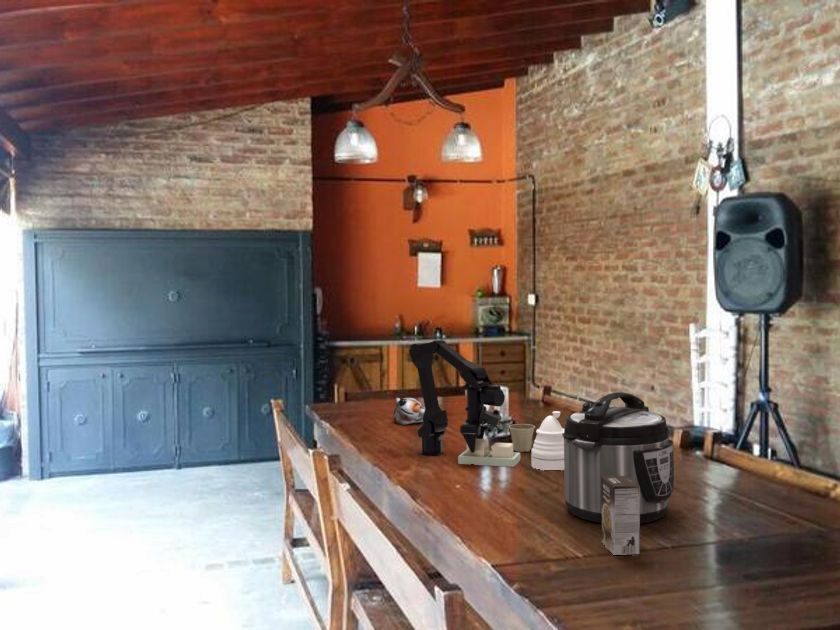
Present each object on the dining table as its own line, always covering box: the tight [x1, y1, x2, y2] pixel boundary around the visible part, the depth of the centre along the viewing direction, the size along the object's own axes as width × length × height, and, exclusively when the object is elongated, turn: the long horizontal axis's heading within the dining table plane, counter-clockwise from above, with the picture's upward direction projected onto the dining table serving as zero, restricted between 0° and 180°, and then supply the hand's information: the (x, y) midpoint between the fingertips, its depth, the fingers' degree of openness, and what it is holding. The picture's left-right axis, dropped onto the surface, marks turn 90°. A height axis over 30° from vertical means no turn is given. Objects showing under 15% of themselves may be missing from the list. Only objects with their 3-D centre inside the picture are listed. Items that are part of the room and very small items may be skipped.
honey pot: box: [530, 410, 564, 471], centre depth 272 cm, size 13×13×18 cm
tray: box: [457, 442, 521, 468], centre depth 280 cm, size 19×10×6 cm, turn 71°
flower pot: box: [508, 423, 536, 453], centre depth 297 cm, size 9×9×9 cm
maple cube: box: [466, 438, 490, 457], centre depth 281 cm, size 6×6×6 cm
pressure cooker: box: [562, 391, 675, 524], centre depth 219 cm, size 30×28×32 cm
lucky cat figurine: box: [393, 397, 425, 426], centre depth 353 cm, size 15×12×14 cm
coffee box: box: [601, 476, 641, 556], centre depth 191 cm, size 9×6×16 cm
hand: (476, 449), depth 282 cm, fingers open, 9 cm apart
